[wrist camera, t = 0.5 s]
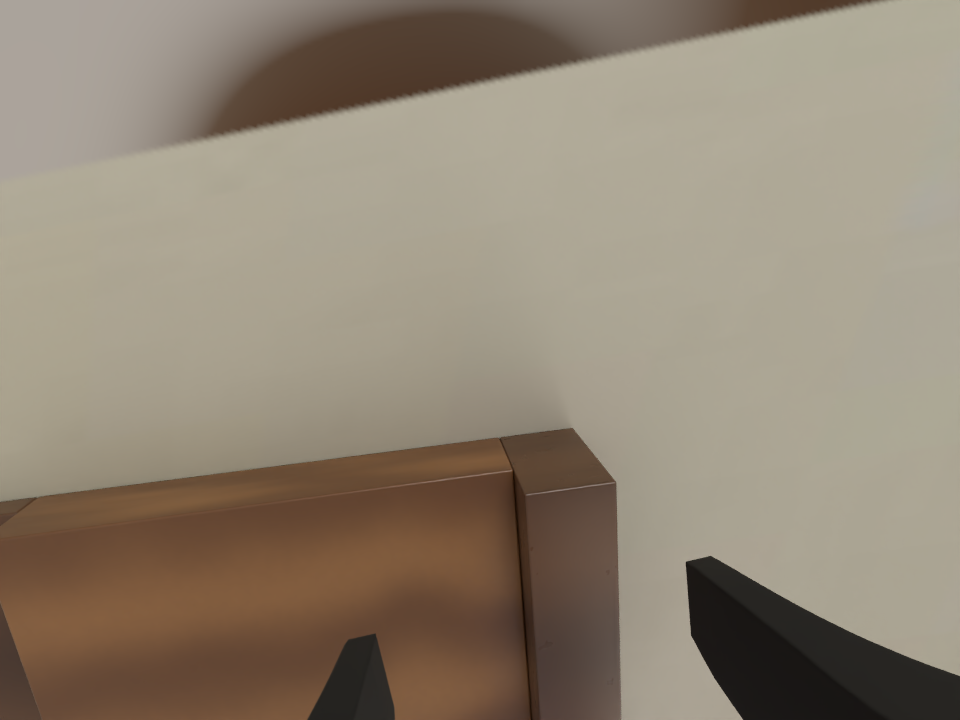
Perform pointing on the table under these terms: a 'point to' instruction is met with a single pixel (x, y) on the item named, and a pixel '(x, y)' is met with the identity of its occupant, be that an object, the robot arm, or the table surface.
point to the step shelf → (321, 588)
